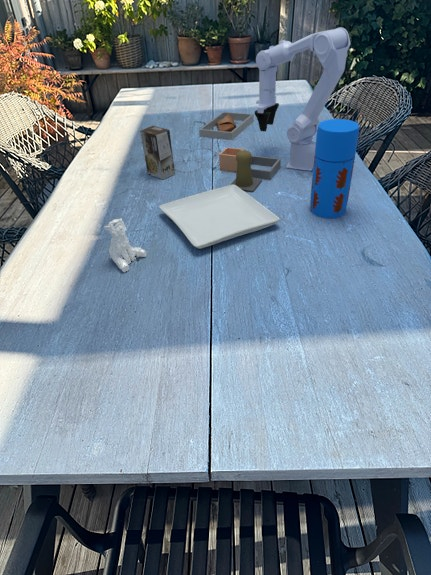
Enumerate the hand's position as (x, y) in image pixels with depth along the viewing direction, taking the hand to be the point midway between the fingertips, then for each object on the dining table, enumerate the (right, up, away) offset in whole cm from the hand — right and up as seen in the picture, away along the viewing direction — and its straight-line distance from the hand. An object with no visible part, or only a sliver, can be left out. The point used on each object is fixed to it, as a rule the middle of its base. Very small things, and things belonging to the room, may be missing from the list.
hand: (266, 127), depth 153 cm
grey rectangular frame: (-3, -18, -5) cm, 18 cm away
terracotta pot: (-13, -15, -1) cm, 20 cm away
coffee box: (-39, -18, -1) cm, 43 cm away
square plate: (-18, -40, -30) cm, 53 cm away
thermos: (+15, -36, -29) cm, 49 cm away
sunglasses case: (-14, +12, +33) cm, 38 cm away
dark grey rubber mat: (-9, -25, -13) cm, 29 cm away
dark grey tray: (-14, +12, +33) cm, 38 cm away
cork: (-9, -24, -13) cm, 29 cm away
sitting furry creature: (-43, -53, -43) cm, 81 cm away
